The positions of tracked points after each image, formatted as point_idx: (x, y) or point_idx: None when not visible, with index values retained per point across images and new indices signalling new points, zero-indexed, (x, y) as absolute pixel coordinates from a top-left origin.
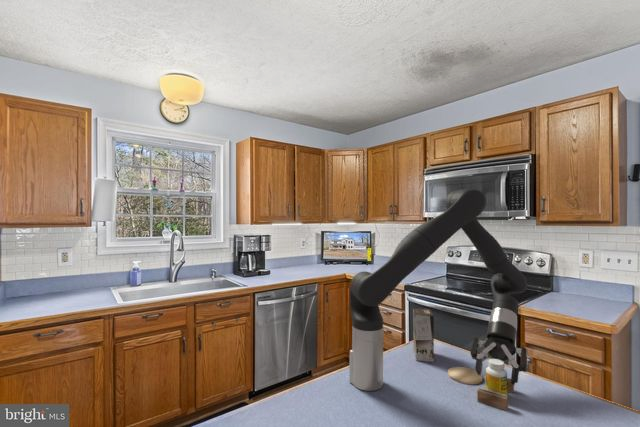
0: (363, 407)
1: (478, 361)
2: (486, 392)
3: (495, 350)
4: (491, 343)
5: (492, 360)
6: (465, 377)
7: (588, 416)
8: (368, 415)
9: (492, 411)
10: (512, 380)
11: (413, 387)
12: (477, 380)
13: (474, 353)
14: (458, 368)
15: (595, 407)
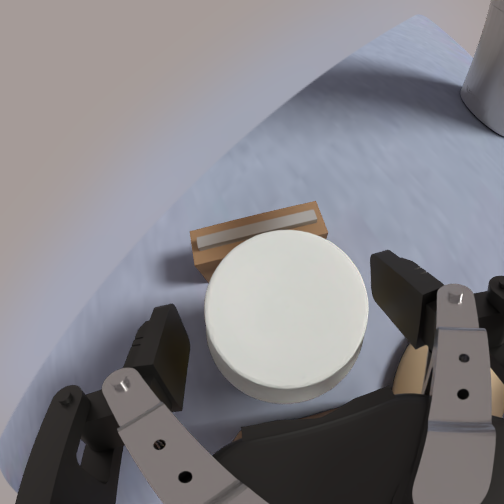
0: (410, 57)
1: (433, 291)
2: (279, 215)
3: (380, 455)
4: (490, 468)
5: (330, 304)
6: None
7: (32, 418)
8: (386, 48)
9: (239, 208)
10: (163, 306)
11: (462, 156)
12: (404, 384)
13: (499, 292)
14: (497, 404)
15: None
